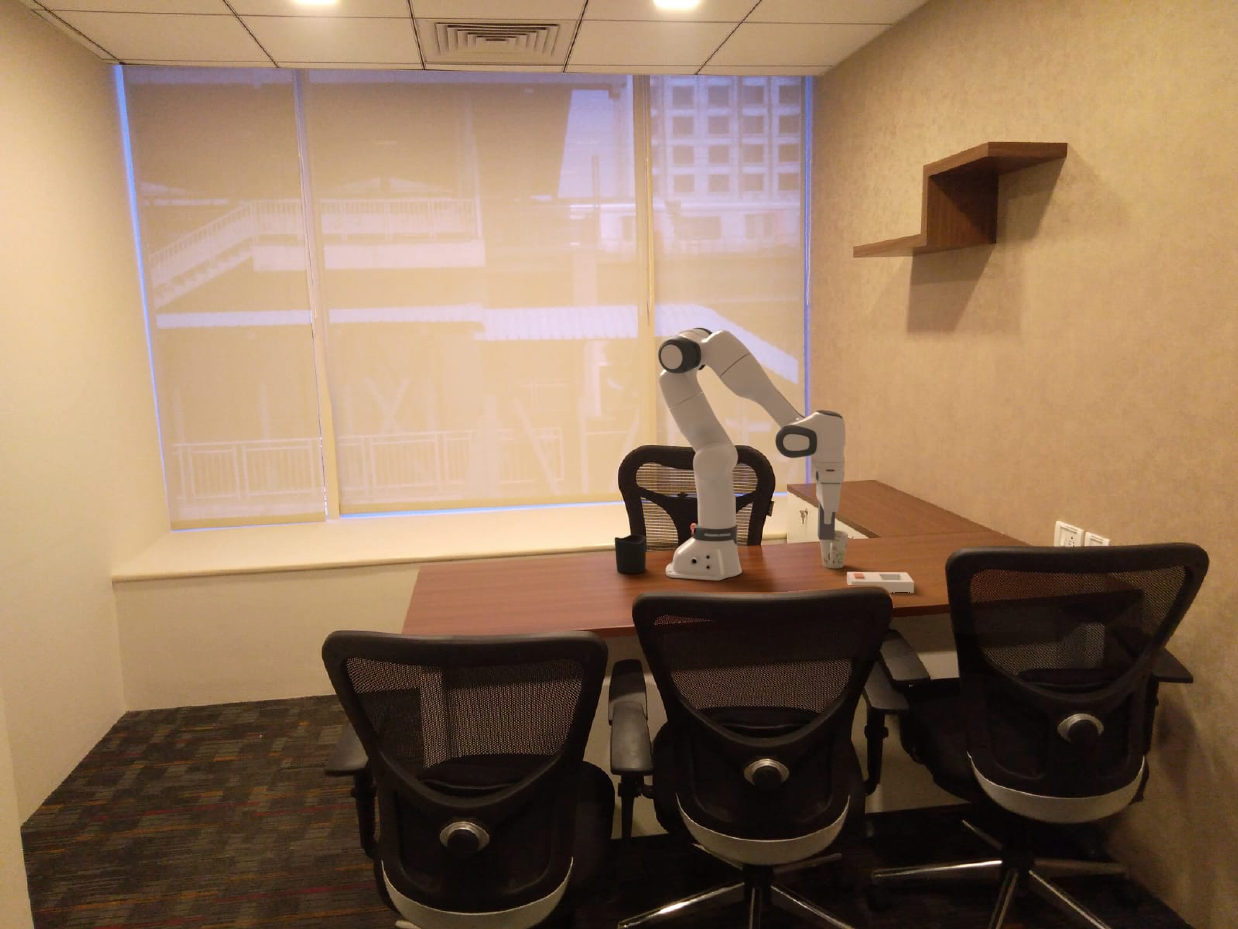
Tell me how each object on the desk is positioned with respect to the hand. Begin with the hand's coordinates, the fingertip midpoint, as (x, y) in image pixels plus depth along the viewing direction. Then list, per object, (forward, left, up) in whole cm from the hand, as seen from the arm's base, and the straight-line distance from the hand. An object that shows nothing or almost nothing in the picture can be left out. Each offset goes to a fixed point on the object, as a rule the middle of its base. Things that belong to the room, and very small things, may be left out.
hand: (826, 521), depth 218 cm
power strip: (+14, 0, -19) cm, 23 cm away
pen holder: (-56, +15, -19) cm, 61 cm away
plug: (0, 0, -5) cm, 5 cm away
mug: (+4, +19, -19) cm, 27 cm away
